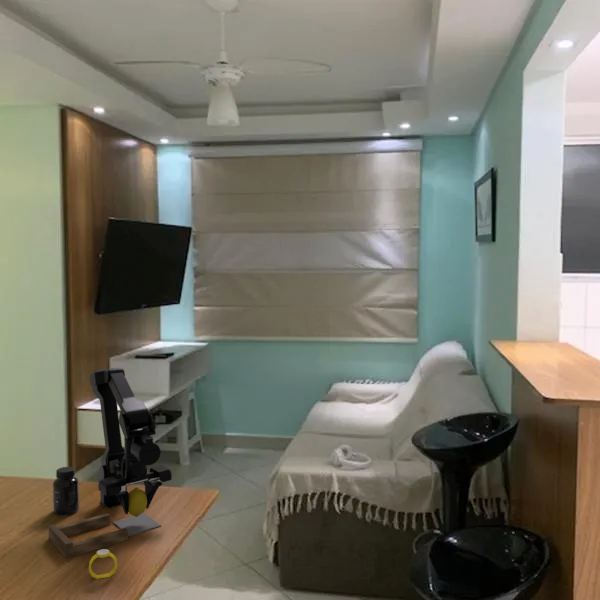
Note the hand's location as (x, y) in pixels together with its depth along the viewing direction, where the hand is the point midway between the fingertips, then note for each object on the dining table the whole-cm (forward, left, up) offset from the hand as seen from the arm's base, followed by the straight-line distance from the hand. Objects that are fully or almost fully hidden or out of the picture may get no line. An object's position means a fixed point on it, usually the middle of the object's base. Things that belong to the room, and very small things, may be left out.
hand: (136, 511), depth 165 cm
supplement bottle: (+12, -21, -4) cm, 24 cm away
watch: (+18, +20, -4) cm, 27 cm away
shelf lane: (+13, 0, -4) cm, 13 cm away
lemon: (0, 0, -2) cm, 2 cm away
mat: (0, 0, -4) cm, 4 cm away
